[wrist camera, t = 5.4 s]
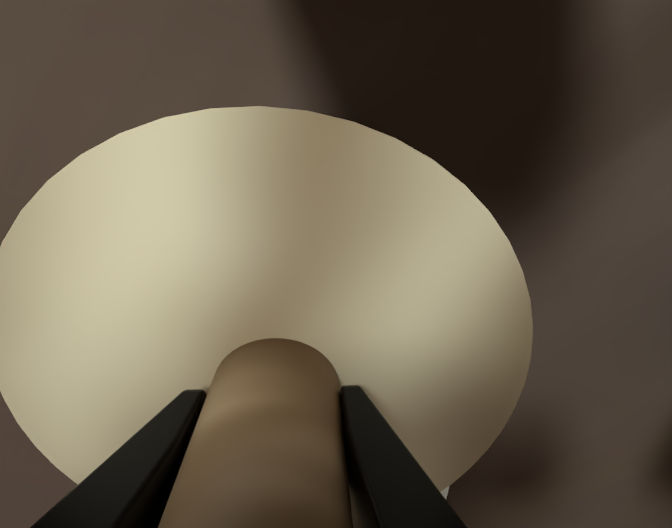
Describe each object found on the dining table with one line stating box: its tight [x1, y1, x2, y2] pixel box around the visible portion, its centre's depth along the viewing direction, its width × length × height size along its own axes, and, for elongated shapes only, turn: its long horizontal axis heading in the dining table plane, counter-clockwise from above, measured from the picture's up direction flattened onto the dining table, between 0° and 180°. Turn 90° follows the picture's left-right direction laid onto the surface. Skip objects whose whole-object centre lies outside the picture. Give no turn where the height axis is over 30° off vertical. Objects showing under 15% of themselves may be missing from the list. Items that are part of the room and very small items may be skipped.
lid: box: [0, 106, 533, 528], centre depth 6 cm, size 12×12×4 cm
